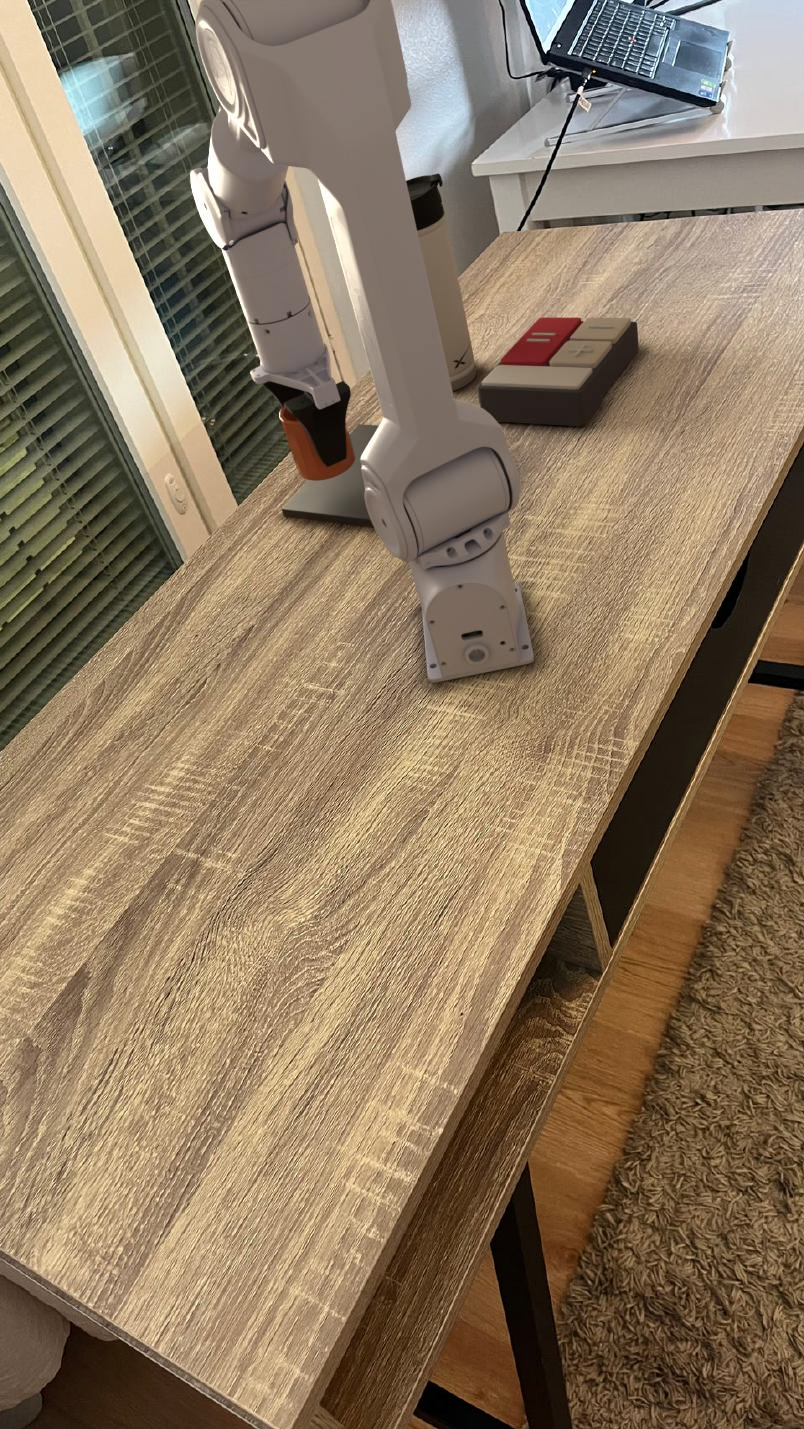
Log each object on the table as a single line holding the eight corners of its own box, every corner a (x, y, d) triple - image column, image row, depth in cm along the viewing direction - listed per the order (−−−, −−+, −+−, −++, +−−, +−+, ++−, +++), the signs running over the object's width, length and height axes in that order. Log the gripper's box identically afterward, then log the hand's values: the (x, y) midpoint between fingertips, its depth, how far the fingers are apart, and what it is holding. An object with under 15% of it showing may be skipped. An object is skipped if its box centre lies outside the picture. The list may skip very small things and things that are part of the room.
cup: (355, 473, 98) (337, 414, 94) (298, 486, 99) (278, 429, 95) (355, 442, 102) (338, 385, 98) (299, 456, 103) (280, 399, 99)
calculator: (638, 313, 107) (580, 384, 98) (640, 354, 109) (585, 427, 100) (536, 313, 112) (473, 380, 103) (541, 352, 115) (480, 421, 106)
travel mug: (481, 386, 111) (441, 187, 98) (419, 399, 112) (371, 204, 99) (479, 359, 116) (440, 164, 102) (419, 371, 117) (373, 181, 103)
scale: (388, 529, 96) (381, 506, 95) (283, 517, 102) (275, 495, 100) (461, 438, 105) (456, 415, 103) (360, 431, 110) (354, 410, 109)
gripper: (210, 302, 95) (259, 437, 104) (263, 354, 85) (312, 498, 94) (281, 272, 96) (324, 408, 105) (342, 319, 86) (383, 465, 95)
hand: (323, 448), depth 100 cm, fingers closed on cup, 5 cm apart
